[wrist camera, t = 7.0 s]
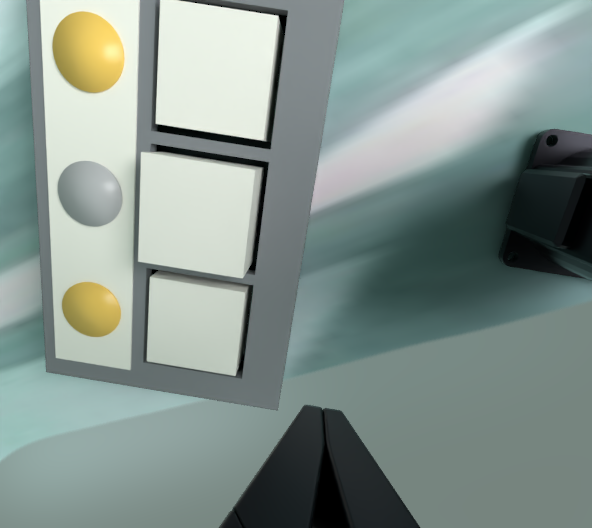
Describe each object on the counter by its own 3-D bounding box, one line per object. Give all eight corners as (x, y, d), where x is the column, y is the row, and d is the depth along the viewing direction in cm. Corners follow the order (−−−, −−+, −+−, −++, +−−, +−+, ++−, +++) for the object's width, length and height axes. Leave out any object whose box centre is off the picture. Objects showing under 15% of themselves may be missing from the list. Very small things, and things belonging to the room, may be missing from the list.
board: (343, 3, 16) (349, -32, 13) (283, 376, 22) (277, 413, 19) (74, -38, 16) (17, -82, 13) (81, 343, 22) (43, 374, 19)
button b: (264, 167, 16) (255, 169, 14) (253, 261, 18) (242, 278, 15) (166, 151, 17) (140, 151, 14) (162, 247, 18) (138, 261, 15)
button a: (284, 36, 16) (278, 15, 14) (271, 142, 17) (263, 140, 15) (183, 20, 16) (160, -3, 14) (178, 127, 17) (155, 123, 15)
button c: (254, 275, 19) (245, 292, 17) (245, 350, 21) (235, 375, 18) (170, 261, 19) (149, 276, 17) (166, 337, 21) (146, 361, 18)
